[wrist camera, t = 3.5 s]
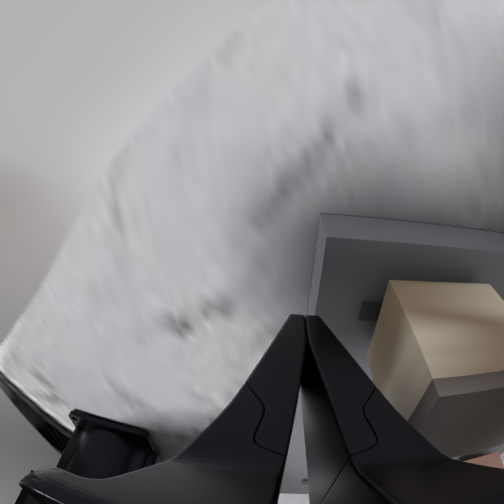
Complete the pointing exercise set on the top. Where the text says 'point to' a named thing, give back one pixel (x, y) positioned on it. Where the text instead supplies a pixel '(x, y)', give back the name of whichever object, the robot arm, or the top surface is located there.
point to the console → (384, 288)
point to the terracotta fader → (488, 460)
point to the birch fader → (443, 361)
